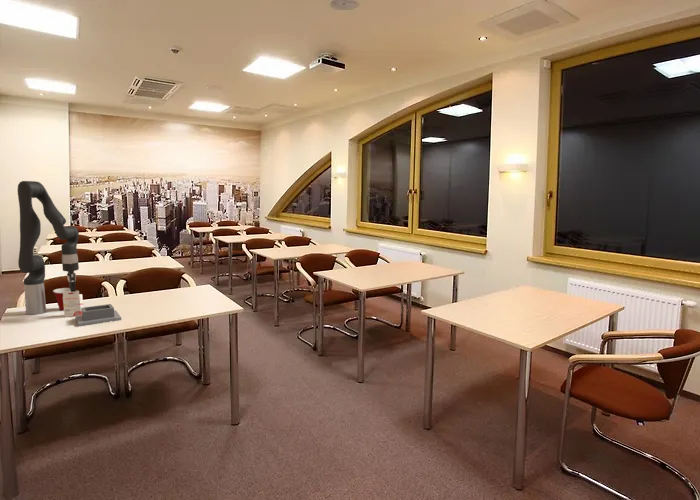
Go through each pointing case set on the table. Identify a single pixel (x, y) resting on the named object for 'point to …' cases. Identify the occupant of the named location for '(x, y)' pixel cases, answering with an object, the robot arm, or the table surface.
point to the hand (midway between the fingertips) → (72, 290)
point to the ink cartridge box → (72, 303)
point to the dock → (97, 315)
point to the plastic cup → (61, 296)
